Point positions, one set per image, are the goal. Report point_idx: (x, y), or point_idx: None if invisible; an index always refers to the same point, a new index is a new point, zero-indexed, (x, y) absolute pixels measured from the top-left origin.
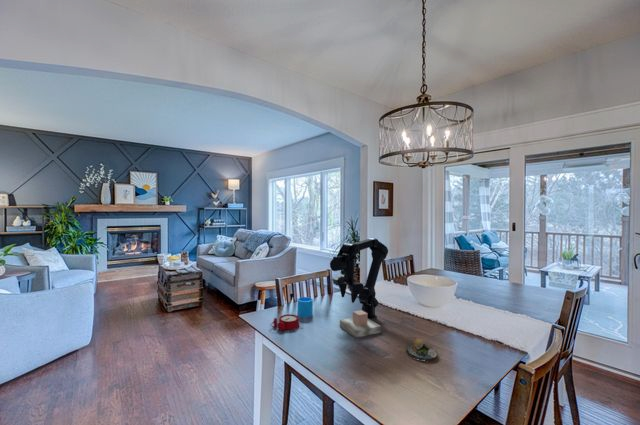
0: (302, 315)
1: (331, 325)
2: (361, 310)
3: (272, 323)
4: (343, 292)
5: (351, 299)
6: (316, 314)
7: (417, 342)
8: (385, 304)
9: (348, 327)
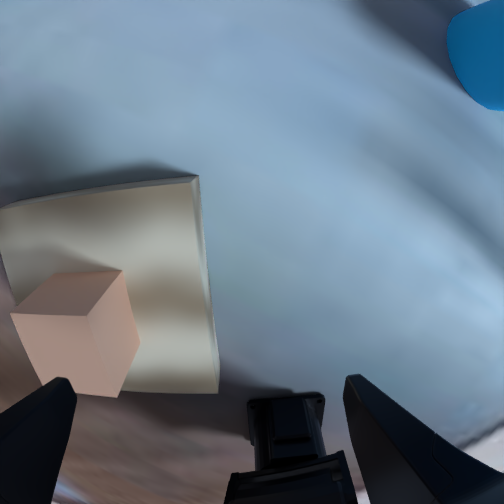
0: (458, 14)
1: (236, 118)
2: (107, 392)
3: None
4: (368, 449)
5: (39, 400)
6: (468, 126)
7: None
8: (362, 493)
9: (63, 196)
